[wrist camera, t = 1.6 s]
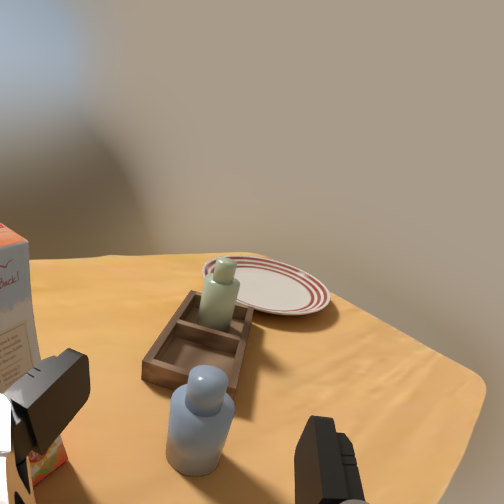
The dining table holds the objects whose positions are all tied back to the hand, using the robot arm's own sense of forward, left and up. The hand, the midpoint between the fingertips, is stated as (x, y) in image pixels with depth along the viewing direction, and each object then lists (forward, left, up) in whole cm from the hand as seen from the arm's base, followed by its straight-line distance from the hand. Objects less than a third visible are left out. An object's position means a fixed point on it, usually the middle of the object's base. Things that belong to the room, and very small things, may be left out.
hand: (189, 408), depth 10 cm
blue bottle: (0, +11, -19) cm, 22 cm away
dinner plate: (+4, +55, -19) cm, 58 cm away
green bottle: (-3, +35, -18) cm, 39 cm away
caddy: (-3, +30, -19) cm, 35 cm away
